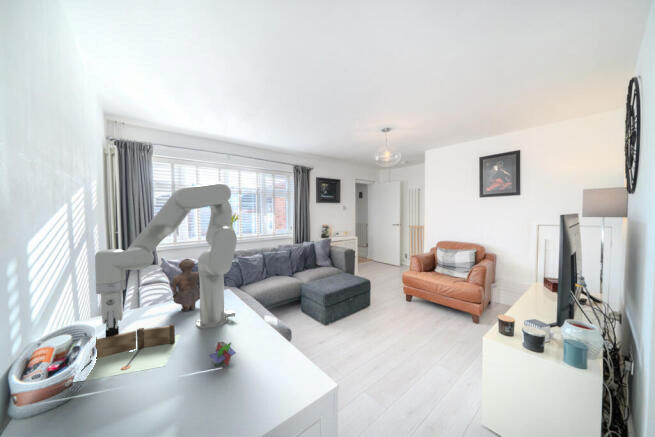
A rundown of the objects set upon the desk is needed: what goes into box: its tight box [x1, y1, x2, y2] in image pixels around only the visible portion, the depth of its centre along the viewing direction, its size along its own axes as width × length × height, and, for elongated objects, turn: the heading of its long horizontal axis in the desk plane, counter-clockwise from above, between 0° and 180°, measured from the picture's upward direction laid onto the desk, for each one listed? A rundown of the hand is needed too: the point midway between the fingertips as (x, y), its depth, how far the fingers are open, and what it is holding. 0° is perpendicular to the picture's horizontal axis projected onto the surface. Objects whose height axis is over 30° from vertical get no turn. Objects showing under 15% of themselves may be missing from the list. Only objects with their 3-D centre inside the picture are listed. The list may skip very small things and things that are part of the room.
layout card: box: [84, 334, 182, 382], centre depth 79 cm, size 23×20×1 cm
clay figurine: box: [171, 258, 200, 312], centre depth 116 cm, size 13×10×25 cm
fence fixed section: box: [136, 323, 176, 350], centre depth 84 cm, size 11×2×7 cm, turn 109°
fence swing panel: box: [88, 330, 137, 359], centre depth 79 cm, size 12×2×8 cm, turn 125°
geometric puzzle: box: [208, 341, 237, 367], centre depth 75 cm, size 7×7×8 cm
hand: (112, 339), depth 80 cm, fingers closed
